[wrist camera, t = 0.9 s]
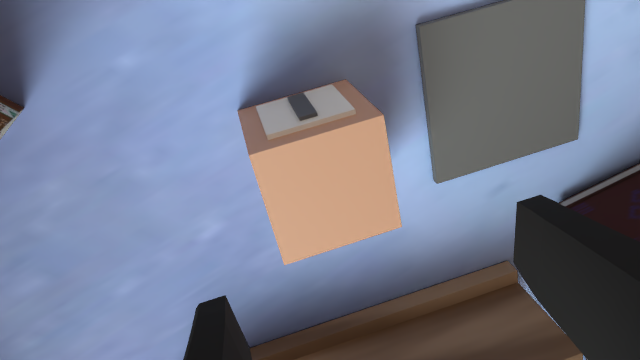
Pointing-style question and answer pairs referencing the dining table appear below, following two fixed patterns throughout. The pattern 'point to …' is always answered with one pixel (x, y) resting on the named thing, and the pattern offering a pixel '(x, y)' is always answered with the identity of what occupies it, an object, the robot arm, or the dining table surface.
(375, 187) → the letter cube
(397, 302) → the walnut screen
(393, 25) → the dining table surface
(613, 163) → the dining table surface
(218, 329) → the robot arm
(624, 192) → the book
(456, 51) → the charcoal pad
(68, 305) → the dining table surface
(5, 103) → the food container
